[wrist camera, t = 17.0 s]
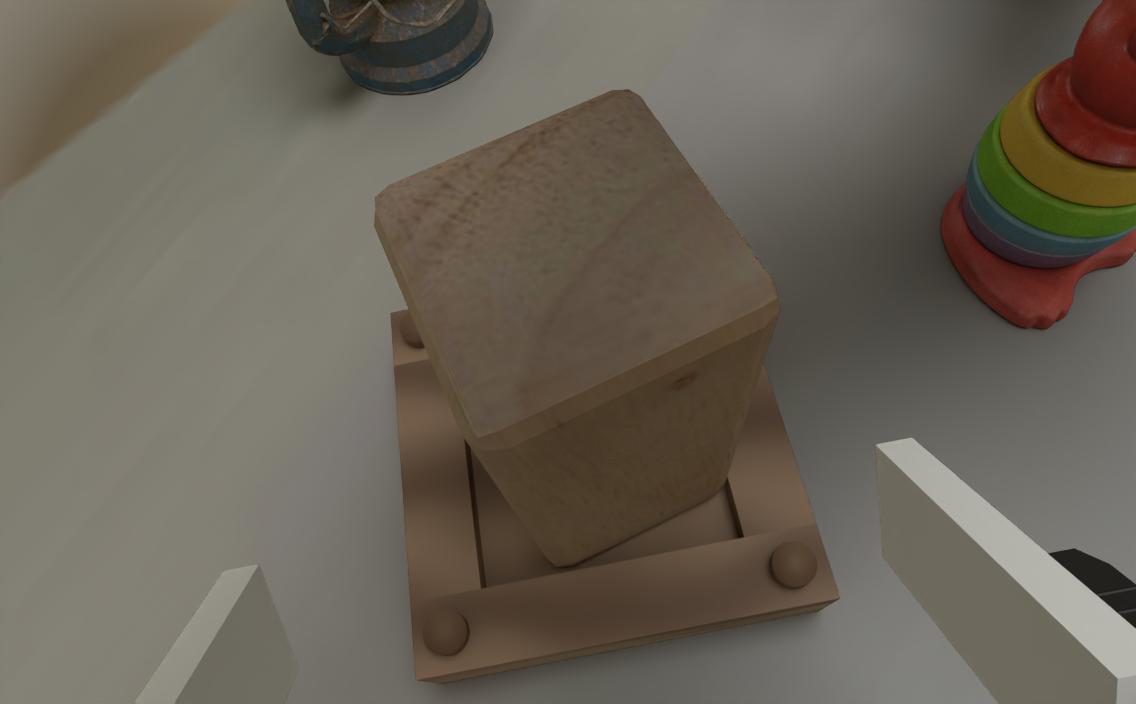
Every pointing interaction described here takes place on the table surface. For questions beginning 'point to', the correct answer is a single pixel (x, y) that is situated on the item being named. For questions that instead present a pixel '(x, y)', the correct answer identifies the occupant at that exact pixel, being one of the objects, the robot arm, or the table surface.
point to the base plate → (604, 581)
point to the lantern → (398, 39)
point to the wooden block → (584, 319)
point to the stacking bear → (1054, 179)
